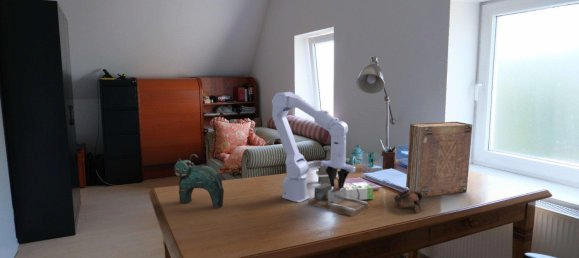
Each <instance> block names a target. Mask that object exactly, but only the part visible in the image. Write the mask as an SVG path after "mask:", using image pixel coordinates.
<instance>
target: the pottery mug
mask: <svg viewBox="0 0 579 258" xmlns="http://www.w3.org/2000/svg"><path fill="white" fill-rule="evenodd" d="M393 199H394V205H398V206H402V201H403V202H406V203H410V200H409V199H411V200H412V201H413V205H416V206H415V207H414V208H413V209H414V210H415V211H414V212H415V214H418V213H420V212H421V211H422V206H421V202H422V201H423V197H422V194H421V193H420V192H419V191H417V192H414V193H413V192H411V190H407V191H406V190H405V191H402V192H400V193H398V195H395V196H394V197H393Z"/></svg>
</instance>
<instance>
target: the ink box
mask: <svg viewBox="0 0 579 258" xmlns="http://www.w3.org/2000/svg"><path fill="white" fill-rule="evenodd" d="M343 187H345V188H346V197H349V198H353V199H357V200H361V201H364V200H373V199H374V187H373V186H371V185H370V184H369V183H366V182H363V181H362V182H351V183H350V182H347V183H344V186H343Z"/></svg>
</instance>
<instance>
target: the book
mask: <svg viewBox="0 0 579 258" xmlns="http://www.w3.org/2000/svg"><path fill="white" fill-rule="evenodd" d="M472 132H473V124H470V123H465V122H459V121H446V122H445V121H443V122H420V123H418V122H417V123H410V124H409V136H408V137H409V138H408V150H407V151H408V153H407V154H408V155H407V164H406V165H407V166H406V183H405V188H406V187H408V188H409V189H410V190H411V192H412V193H414V192H417V191H419V192H420V193H421V194H422V198H426V197H433V196H440V195H449V194H450V195H451V194H459V193H465V192H467V191H468V182H469V180H468V179H469V168H470V158H471V157H470V156H471V145H472Z"/></svg>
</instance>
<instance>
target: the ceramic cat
mask: <svg viewBox="0 0 579 258" xmlns="http://www.w3.org/2000/svg"><path fill="white" fill-rule="evenodd" d="M192 156H195V157H196V158H197V159H199V157H198V155H197V154H195V153H193V154H190V158H189V159H183V160H182V159H181V158H177V161H176V163H175V164H174V167H173V169H174V175H176V177H178V178H180V179H179V181H178V184H179V185H178V186H179V187H178V188H179V189H178V196H179V204H183V203H184V205H186V203H187V204H190V201H191V202H192V195H193V191H194V189H203V190H206V191H207V192H208V194H209V196H210V200H211V203H212V208H214V209H220V208H221V207H223V206H224V205H223V204H224V194H225V192H224V191H225V190H224V186H223V180H222V177H221V175H220V174H219V171H218V170H217V168H216V167H215V166H214V165H211V164H207V163H202V164H198V165H195V164H194V163H193V162H192Z"/></svg>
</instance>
